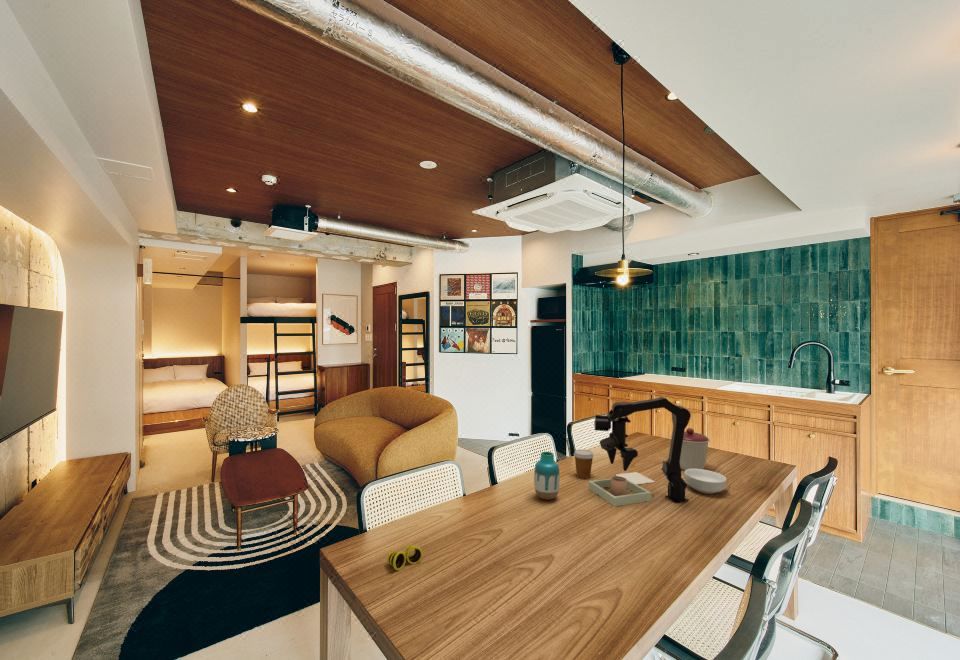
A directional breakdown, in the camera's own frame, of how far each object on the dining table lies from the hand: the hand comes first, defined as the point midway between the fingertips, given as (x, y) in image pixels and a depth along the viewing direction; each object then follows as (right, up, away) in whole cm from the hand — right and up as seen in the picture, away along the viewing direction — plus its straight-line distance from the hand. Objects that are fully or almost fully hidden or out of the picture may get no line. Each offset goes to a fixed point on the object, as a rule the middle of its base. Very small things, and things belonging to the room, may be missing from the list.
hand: (618, 467), depth 175 cm
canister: (+49, -13, +33) cm, 61 cm away
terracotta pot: (0, -12, 0) cm, 12 cm away
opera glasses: (-84, -12, -53) cm, 100 cm away
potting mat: (+14, -12, +18) cm, 26 cm away
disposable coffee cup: (-10, -12, +20) cm, 26 cm away
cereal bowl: (+41, -13, +6) cm, 43 cm away
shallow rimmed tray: (0, -12, 0) cm, 12 cm away
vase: (-32, -12, -5) cm, 35 cm away
